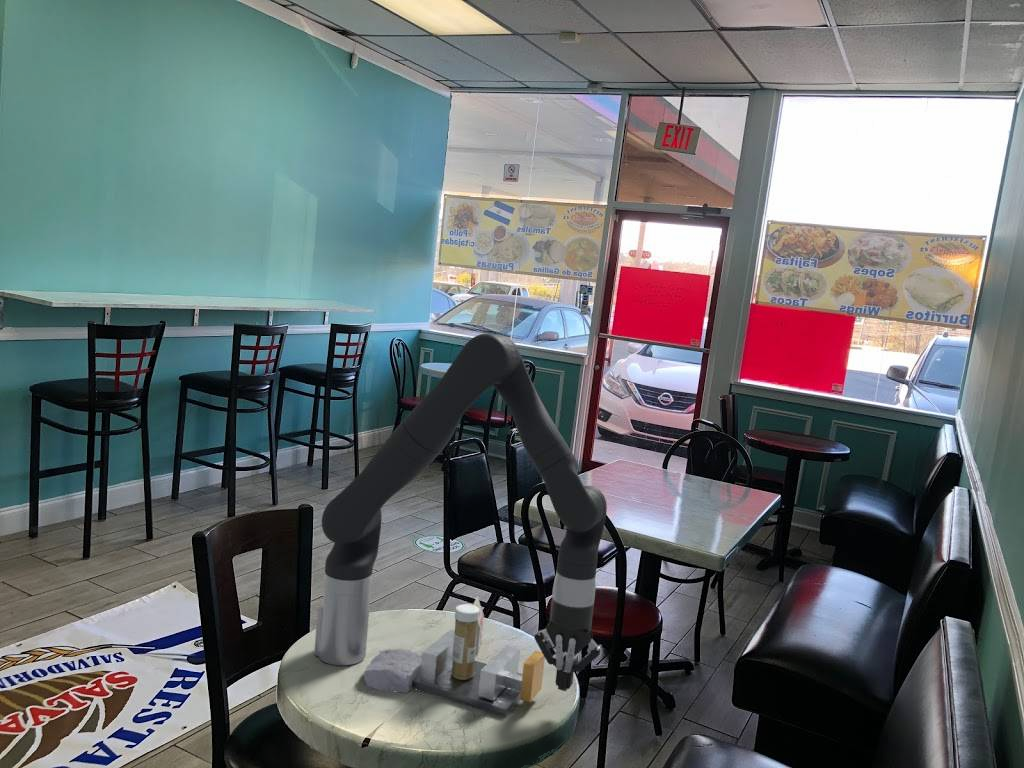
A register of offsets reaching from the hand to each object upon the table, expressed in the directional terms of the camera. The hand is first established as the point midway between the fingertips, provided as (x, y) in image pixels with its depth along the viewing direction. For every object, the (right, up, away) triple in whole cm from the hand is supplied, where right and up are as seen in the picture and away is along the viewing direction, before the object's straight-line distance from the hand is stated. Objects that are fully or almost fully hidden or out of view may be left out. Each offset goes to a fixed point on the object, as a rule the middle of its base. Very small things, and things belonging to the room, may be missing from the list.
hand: (563, 688), depth 148 cm
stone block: (-32, -1, +8) cm, 33 cm away
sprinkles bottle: (-19, -1, +8) cm, 20 cm away
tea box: (-18, 0, +23) cm, 30 cm away
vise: (-17, -2, +7) cm, 19 cm away
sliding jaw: (-9, -1, +4) cm, 10 cm away
